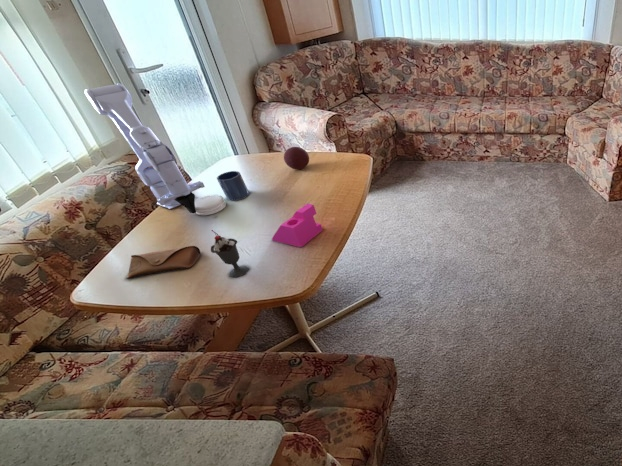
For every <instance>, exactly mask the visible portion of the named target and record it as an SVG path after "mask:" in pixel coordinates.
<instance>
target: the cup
mask: <svg viewBox="0 0 622 466" xmlns="http://www.w3.org/2000/svg"><path fill="white" fill-rule="evenodd" d="M216 180H217V183H218V184H219V186H220V188H221V191H222V192H223V193H224V195H225V197H226V200H228V201H233V202H235V201H240V200H242V199H245V198H247V197H248V196H249V195H250V190H249V189H248V187H247V185H246V183H245V181H244V178H243V176H242V174H241V172H240V171H237V170H231V171H227V172H223V173H221V174H219V175H218V176H217V177H216Z"/></svg>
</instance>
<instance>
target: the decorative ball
mask: <svg viewBox="0 0 622 466" xmlns="http://www.w3.org/2000/svg"><path fill="white" fill-rule="evenodd" d="M283 160H284V161H283V162H285V164H286V165H287V166H288V167H289V168H291V169H293V170H303V169H306V167H307V166H308V165H309V162H310V155H309V153H308V152H307V151H306V150H305V149H304V148H303V147H299V146H291V147H289V148H287V149H285V151H284V154H283Z"/></svg>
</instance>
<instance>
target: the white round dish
mask: <svg viewBox="0 0 622 466" xmlns="http://www.w3.org/2000/svg"><path fill="white" fill-rule="evenodd" d="M194 203H195V209H196V213H195V214H196V215H198V216H210V215H214V214H217V213H219V212H221V211H222V210H224V209H225V208H226V207H227V203H226V201H225V199H224V197H223V196H222V195H219V194H211V195H206V196H203V197H200V198H198V199H195V202H194Z"/></svg>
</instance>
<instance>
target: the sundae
mask: <svg viewBox="0 0 622 466" xmlns="http://www.w3.org/2000/svg"><path fill="white" fill-rule="evenodd" d="M211 232H212V233H214V234H215V236H214V242H213V245H211V246H210V252H211V253H212V254H216V255H217V256H218V257H219V259H220V260H221V261H222V262H223V263H224V264H226V265H231V266H232V267H233V269H232V270H231V271H230V272H229V277H231V278H238V277H241V276H243V275H245V274H246V273H247V272H248V271H249V267H248V266H245V265H239V264H238V262H239V260H240V253H239V250H238V247H237V244H238V240H236V239H235V238H227V237H223V236H221V235H220V234H218V233H217V232H216V231H214V230H213V229H211Z"/></svg>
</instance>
